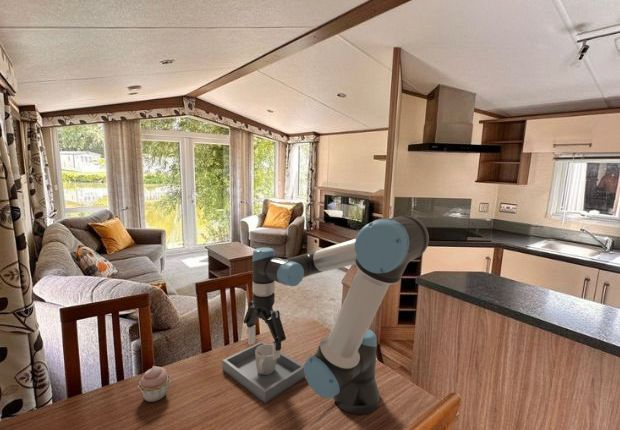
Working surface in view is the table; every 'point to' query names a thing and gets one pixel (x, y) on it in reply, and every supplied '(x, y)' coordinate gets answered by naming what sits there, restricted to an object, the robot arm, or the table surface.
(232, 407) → the table surface
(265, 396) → the box
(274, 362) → the cup
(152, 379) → the cupcake
